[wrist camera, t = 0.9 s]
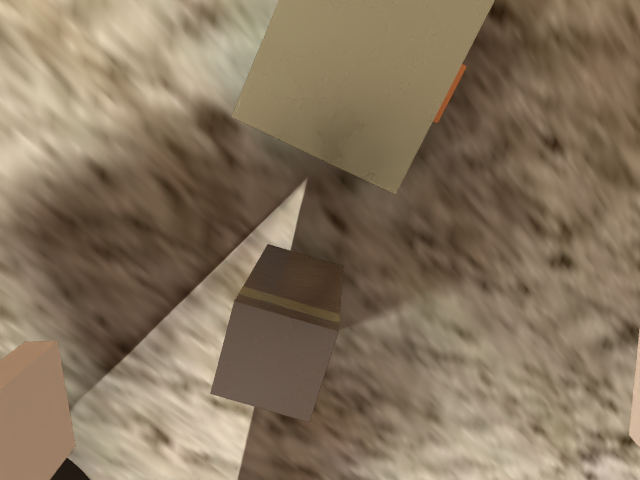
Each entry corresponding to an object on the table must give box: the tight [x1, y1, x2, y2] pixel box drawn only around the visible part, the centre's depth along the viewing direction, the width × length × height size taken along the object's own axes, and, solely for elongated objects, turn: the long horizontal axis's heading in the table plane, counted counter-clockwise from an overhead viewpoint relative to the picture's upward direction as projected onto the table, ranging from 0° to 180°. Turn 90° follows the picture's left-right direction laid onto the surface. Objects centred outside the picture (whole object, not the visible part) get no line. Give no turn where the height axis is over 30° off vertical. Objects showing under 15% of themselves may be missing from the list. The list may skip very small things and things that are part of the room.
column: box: [210, 244, 343, 422], centre depth 31 cm, size 5×5×10 cm
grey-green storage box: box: [232, 0, 495, 195], centre depth 29 cm, size 11×9×6 cm
